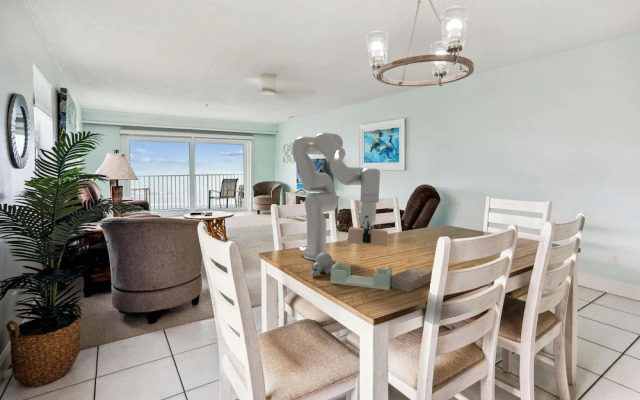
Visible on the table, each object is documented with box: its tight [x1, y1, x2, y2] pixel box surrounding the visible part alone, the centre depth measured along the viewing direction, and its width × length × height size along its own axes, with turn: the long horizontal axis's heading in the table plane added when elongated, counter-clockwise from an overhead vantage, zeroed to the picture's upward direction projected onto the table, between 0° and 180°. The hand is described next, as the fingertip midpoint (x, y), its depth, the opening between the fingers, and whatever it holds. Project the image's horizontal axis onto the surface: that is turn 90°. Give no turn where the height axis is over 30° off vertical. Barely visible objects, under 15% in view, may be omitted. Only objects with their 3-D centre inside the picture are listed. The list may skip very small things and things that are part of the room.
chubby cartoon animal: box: [310, 252, 335, 278], centre depth 136 cm, size 7×12×8 cm, turn 137°
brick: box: [390, 266, 432, 293], centre depth 125 cm, size 17×8×5 cm, turn 134°
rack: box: [330, 261, 393, 291], centre depth 126 cm, size 22×9×6 cm, turn 70°
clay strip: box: [347, 227, 389, 247], centre depth 138 cm, size 16×4×6 cm, turn 78°
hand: (367, 241), depth 138 cm, fingers closed on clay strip, 4 cm apart
